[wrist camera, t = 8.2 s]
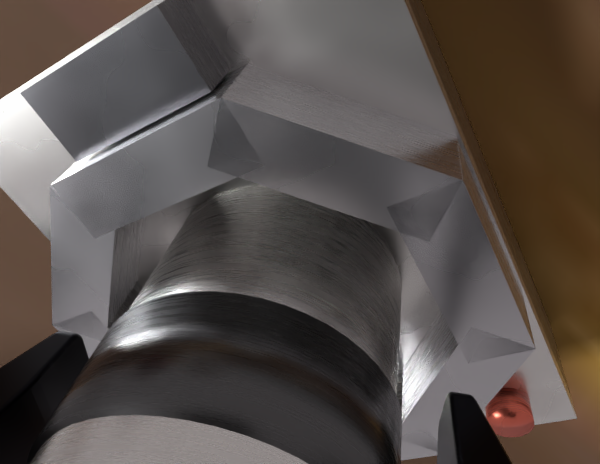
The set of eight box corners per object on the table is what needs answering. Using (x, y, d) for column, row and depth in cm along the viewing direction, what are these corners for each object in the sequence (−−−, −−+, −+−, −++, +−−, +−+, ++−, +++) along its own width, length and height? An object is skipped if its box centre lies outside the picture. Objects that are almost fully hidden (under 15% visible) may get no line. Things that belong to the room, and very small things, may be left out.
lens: (390, 381, 13) (363, 828, 7) (182, 347, 13) (-1, 728, 8) (425, 196, 10) (431, 717, 4) (154, 165, 10) (-189, 566, 5)
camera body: (277, 386, 18) (244, 516, 15) (35, 80, 13) (-109, 167, 10) (550, 326, 15) (594, 479, 11) (368, -135, 9) (337, -124, 6)
